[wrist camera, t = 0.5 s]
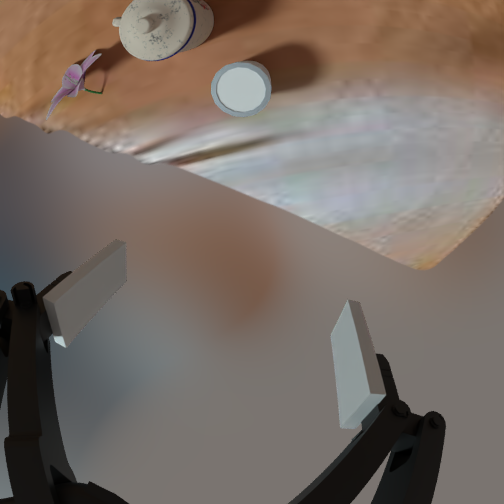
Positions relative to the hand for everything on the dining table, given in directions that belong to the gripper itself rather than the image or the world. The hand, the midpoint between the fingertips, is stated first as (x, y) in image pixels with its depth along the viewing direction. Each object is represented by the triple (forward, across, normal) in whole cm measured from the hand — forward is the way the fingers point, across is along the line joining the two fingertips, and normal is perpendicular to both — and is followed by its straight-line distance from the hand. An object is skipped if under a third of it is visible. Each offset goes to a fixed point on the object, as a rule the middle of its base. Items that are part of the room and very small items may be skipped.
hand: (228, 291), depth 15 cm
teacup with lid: (+22, -17, +22) cm, 36 cm away
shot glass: (+25, -6, +15) cm, 30 cm away
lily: (+24, -31, +15) cm, 42 cm away
